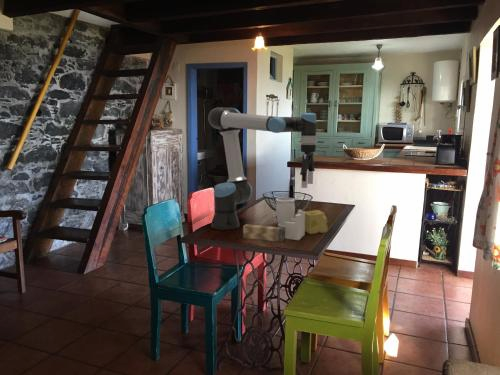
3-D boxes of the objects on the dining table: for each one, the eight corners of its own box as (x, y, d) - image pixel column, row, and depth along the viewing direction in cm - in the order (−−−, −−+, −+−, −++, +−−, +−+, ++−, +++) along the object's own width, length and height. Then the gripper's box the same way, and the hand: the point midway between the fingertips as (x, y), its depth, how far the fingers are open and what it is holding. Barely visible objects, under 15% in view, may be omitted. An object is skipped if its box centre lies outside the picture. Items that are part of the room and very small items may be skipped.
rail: (243, 237, 207) (243, 225, 206) (246, 235, 211) (246, 224, 210) (282, 242, 199) (282, 229, 198) (284, 239, 203) (284, 227, 202)
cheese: (327, 232, 216) (328, 213, 214) (308, 234, 212) (309, 215, 211) (317, 227, 225) (318, 209, 224) (299, 229, 222) (299, 211, 220)
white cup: (293, 228, 224) (293, 201, 221) (274, 227, 226) (274, 200, 223) (295, 223, 234) (295, 197, 231) (277, 223, 236) (277, 196, 234)
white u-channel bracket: (284, 238, 205) (284, 210, 202) (291, 233, 215) (291, 206, 212) (299, 240, 202) (299, 211, 200) (305, 234, 212) (305, 207, 210)
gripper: (310, 145, 199) (309, 190, 202) (320, 142, 222) (319, 182, 225) (294, 145, 201) (294, 189, 205) (306, 142, 224) (305, 181, 228)
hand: (307, 185), depth 215 cm, fingers open, 13 cm apart
